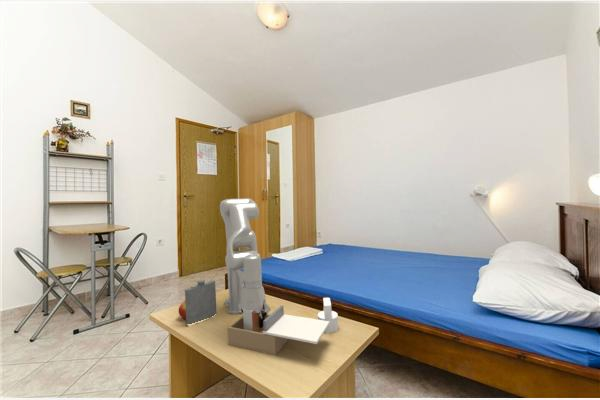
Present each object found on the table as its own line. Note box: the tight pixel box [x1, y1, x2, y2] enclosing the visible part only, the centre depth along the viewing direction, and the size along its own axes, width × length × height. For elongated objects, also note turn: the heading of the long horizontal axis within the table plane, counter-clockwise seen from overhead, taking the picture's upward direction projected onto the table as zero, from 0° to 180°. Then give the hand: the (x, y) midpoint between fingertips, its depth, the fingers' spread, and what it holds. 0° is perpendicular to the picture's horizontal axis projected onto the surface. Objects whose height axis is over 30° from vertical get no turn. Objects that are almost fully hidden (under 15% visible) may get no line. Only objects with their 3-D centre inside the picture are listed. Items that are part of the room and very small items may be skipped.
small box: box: [242, 309, 266, 333], centre depth 113 cm, size 8×6×10 cm
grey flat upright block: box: [184, 279, 218, 325], centre depth 132 cm, size 16×4×20 cm, turn 140°
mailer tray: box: [227, 313, 289, 355], centre depth 112 cm, size 22×16×7 cm
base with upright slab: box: [317, 297, 339, 334], centre depth 119 cm, size 9×9×12 cm
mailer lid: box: [263, 305, 330, 345], centre depth 105 cm, size 22×16×5 cm
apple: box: [178, 300, 186, 319], centre depth 135 cm, size 8×8×10 cm
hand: (254, 324), depth 113 cm, fingers closed on small box, 6 cm apart
